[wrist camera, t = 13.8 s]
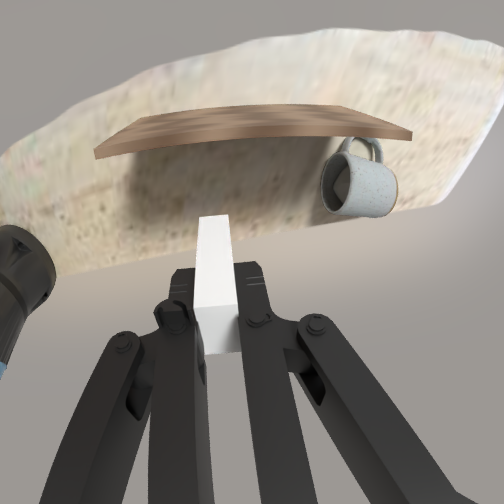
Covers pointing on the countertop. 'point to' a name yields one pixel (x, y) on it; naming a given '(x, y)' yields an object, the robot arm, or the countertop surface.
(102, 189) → the countertop surface
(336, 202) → the ceramic mug
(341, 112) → the wooden board
